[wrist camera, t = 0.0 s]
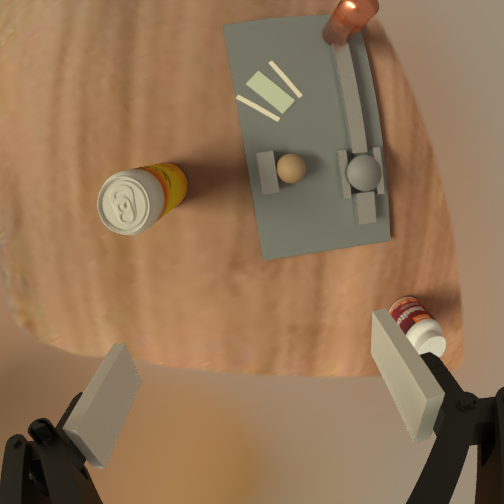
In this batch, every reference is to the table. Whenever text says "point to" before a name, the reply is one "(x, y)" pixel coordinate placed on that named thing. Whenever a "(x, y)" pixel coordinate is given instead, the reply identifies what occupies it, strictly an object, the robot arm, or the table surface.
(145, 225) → the beer can
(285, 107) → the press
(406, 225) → the table surface
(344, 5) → the lever
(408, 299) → the pill bottle
